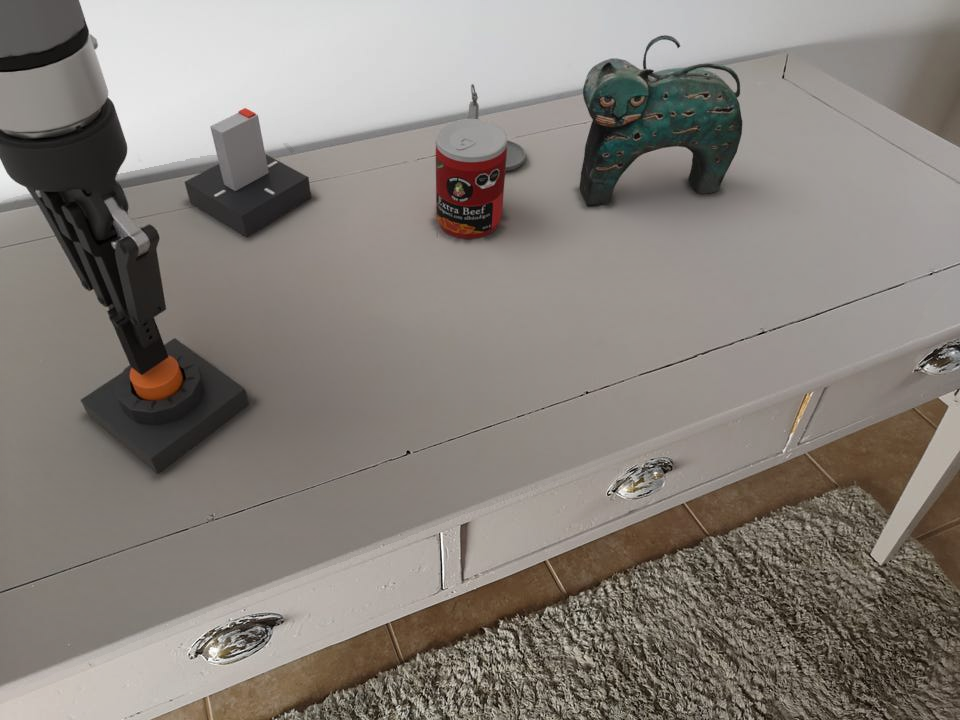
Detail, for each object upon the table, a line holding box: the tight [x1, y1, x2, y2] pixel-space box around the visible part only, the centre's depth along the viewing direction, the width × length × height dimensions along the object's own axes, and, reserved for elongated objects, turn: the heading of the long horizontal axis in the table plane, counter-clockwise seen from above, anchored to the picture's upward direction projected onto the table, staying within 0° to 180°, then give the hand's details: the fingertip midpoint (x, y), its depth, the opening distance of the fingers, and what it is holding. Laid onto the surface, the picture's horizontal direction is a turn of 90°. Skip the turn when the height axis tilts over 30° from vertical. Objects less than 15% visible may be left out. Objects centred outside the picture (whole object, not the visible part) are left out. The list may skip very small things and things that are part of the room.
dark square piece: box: [80, 337, 250, 475], centre depth 69 cm, size 10×10×4 cm
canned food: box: [435, 118, 508, 239], centre depth 88 cm, size 8×8×11 cm
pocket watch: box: [467, 83, 526, 172], centre depth 97 cm, size 8×8×10 cm
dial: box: [210, 107, 269, 191], centre depth 87 cm, size 5×2×8 cm, turn 142°
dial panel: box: [184, 153, 312, 238], centre depth 91 cm, size 10×10×3 cm
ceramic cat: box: [578, 34, 743, 207], centre depth 90 cm, size 20×6×20 cm, turn 101°
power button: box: [130, 355, 183, 401], centre depth 67 cm, size 4×4×2 cm
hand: (149, 361), depth 66 cm, fingers closed
